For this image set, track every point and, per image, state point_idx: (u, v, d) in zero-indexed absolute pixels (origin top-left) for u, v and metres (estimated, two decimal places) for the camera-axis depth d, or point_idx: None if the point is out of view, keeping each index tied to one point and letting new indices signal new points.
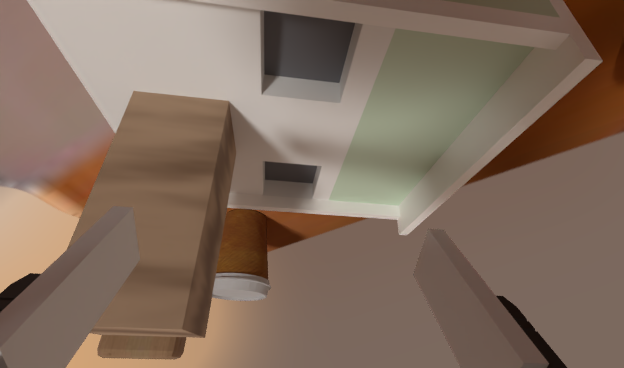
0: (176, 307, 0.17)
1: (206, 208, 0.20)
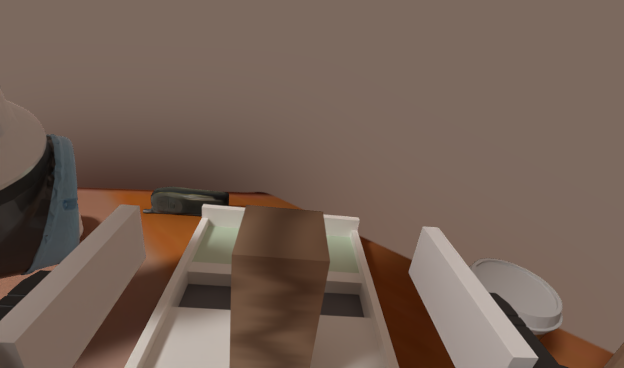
0: None
1: None
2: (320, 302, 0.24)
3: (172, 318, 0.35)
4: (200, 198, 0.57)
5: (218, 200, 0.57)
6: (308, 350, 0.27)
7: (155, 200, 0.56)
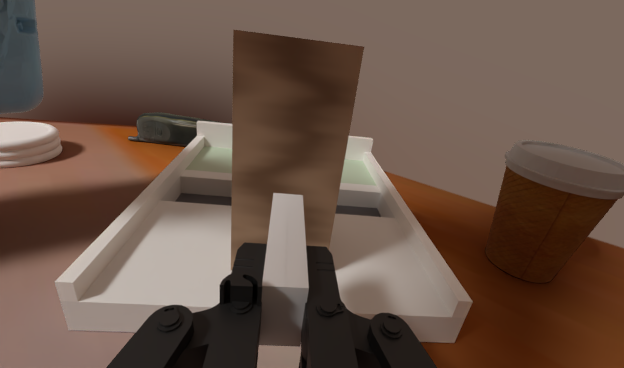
0: None
1: None
2: (349, 119, 0.19)
3: (161, 209, 0.29)
4: (190, 125, 0.50)
5: None
6: (331, 201, 0.21)
7: (140, 125, 0.50)
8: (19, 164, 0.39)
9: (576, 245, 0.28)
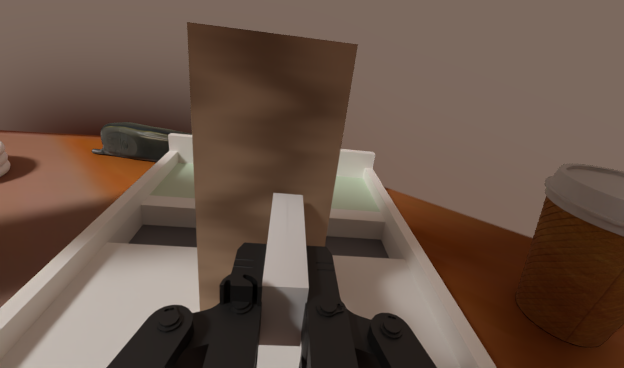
0: None
1: None
2: (339, 135, 0.15)
3: (105, 256, 0.23)
4: (159, 137, 0.43)
5: None
6: (320, 232, 0.17)
7: (104, 137, 0.44)
8: None
9: None
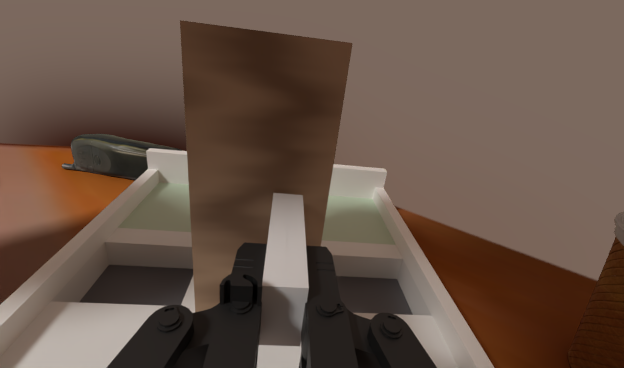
0: None
1: None
2: (335, 133, 0.15)
3: (44, 324, 0.17)
4: (135, 152, 0.37)
5: None
6: (316, 230, 0.17)
7: (75, 150, 0.38)
8: None
9: None
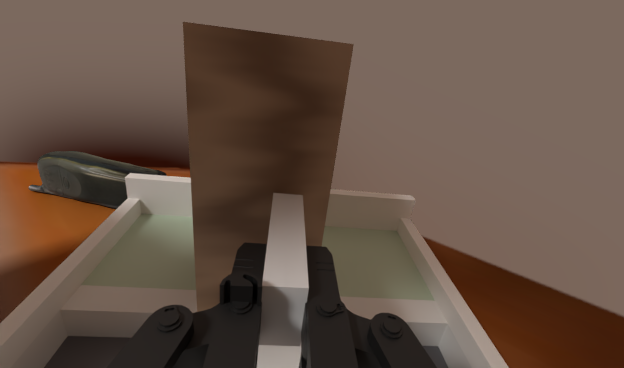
0: None
1: None
2: (336, 133, 0.15)
3: None
4: (108, 176, 0.31)
5: None
6: (318, 228, 0.18)
7: (42, 171, 0.32)
8: None
9: None
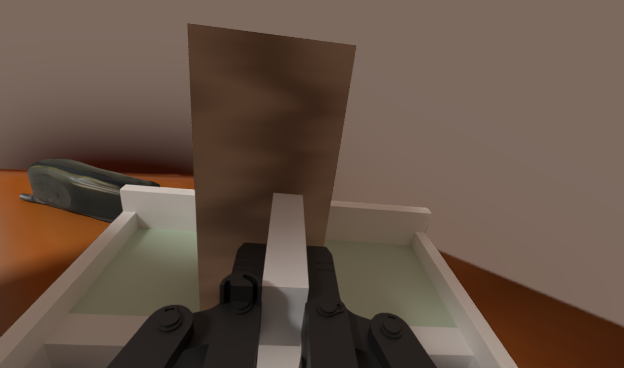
0: None
1: None
2: (339, 133, 0.15)
3: None
4: (98, 187, 0.29)
5: None
6: (320, 228, 0.18)
7: (31, 180, 0.31)
8: None
9: None
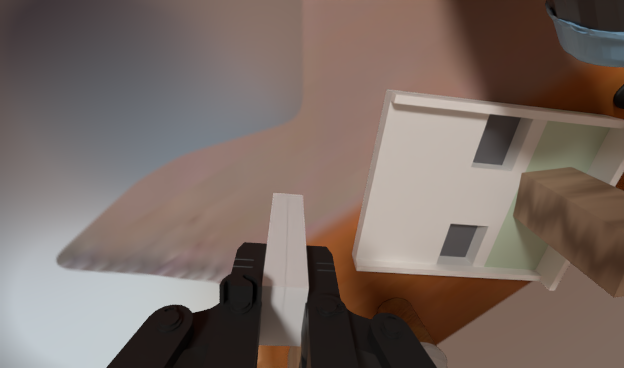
0: None
1: None
2: (580, 269, 0.35)
3: (476, 116, 0.39)
4: None
5: None
6: (544, 239, 0.40)
7: None
8: None
9: None
